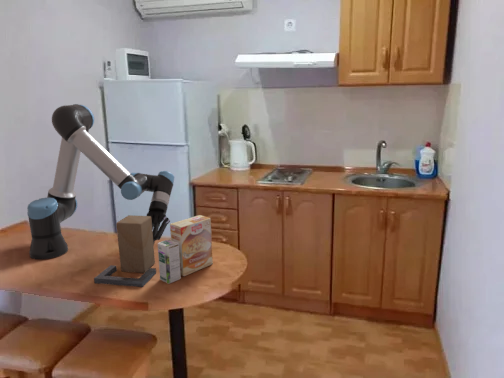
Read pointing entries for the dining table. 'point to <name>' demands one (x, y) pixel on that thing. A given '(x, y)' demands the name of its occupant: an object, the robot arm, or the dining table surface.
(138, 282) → the dock
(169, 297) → the dining table surface
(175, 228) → the coffeecake box
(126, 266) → the wooden block
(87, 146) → the robot arm
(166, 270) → the syrup box
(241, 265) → the dining table surface
